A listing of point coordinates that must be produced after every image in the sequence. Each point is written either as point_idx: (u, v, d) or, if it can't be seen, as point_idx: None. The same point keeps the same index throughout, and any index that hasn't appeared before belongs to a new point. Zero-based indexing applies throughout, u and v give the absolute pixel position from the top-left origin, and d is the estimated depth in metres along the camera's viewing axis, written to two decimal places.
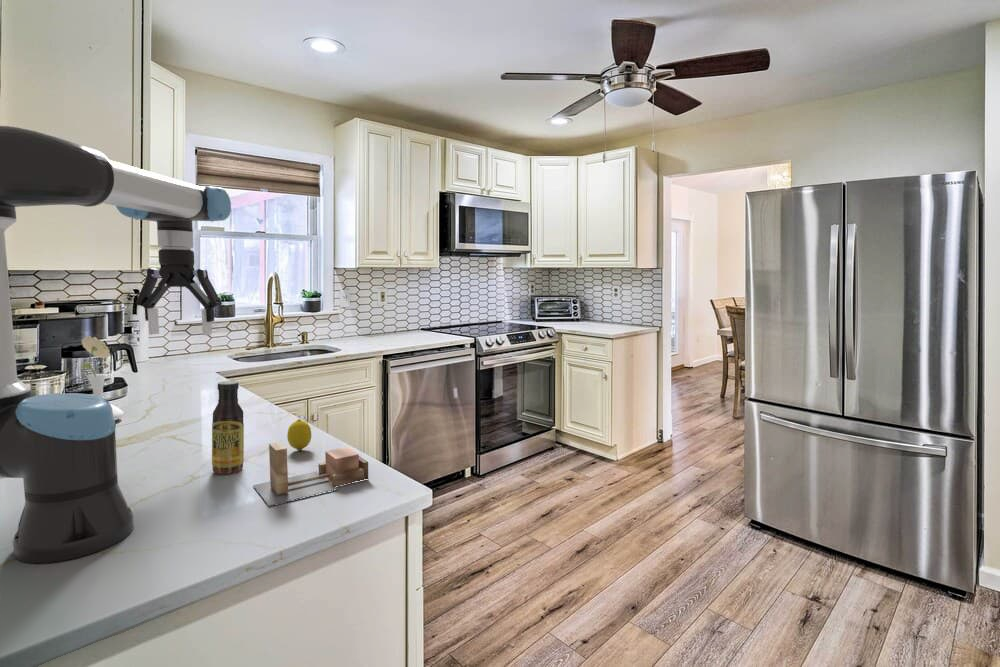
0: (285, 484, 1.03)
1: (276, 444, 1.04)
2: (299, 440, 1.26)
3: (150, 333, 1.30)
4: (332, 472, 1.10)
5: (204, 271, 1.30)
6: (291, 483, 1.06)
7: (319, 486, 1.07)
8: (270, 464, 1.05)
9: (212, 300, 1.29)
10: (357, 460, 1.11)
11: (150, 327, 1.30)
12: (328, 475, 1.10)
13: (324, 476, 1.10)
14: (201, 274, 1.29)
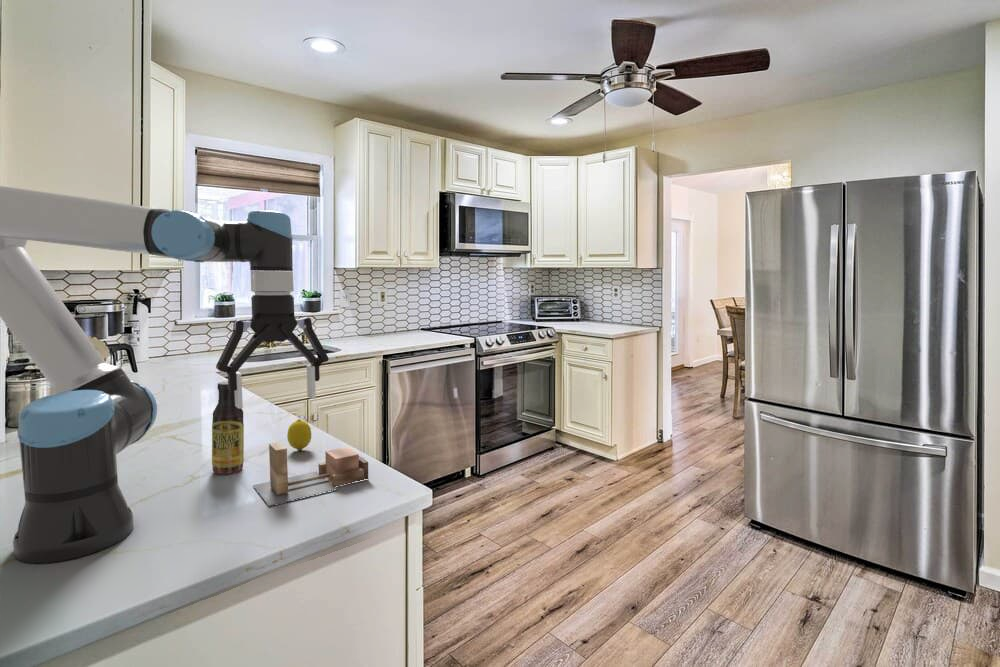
0: (285, 484, 1.03)
1: (276, 444, 1.04)
2: (299, 440, 1.26)
3: (240, 406, 0.97)
4: (332, 472, 1.10)
5: None
6: (291, 483, 1.06)
7: (319, 486, 1.07)
8: (270, 464, 1.05)
9: (323, 355, 1.07)
10: (357, 460, 1.11)
11: (240, 398, 0.97)
12: (328, 475, 1.10)
13: (324, 476, 1.10)
14: (310, 324, 1.04)
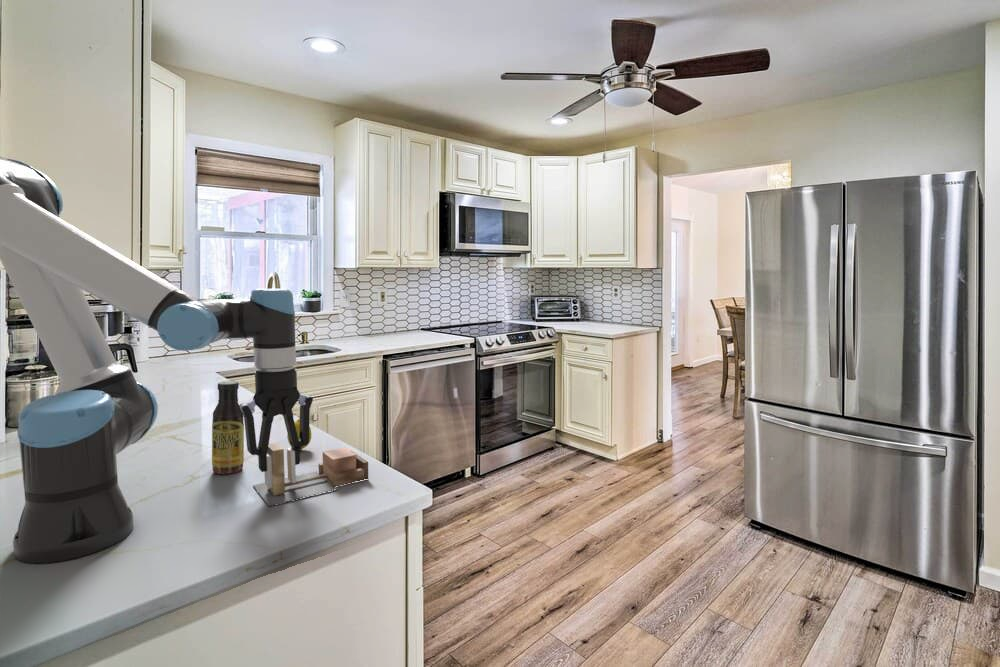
0: (282, 485, 1.02)
1: (273, 445, 1.04)
2: None
3: (270, 486, 1.02)
4: (329, 473, 1.10)
5: None
6: (288, 484, 1.05)
7: (319, 486, 1.07)
8: None
9: (306, 437, 1.06)
10: (354, 461, 1.11)
11: (270, 479, 1.02)
12: (325, 476, 1.10)
13: (321, 477, 1.09)
14: (310, 404, 1.06)
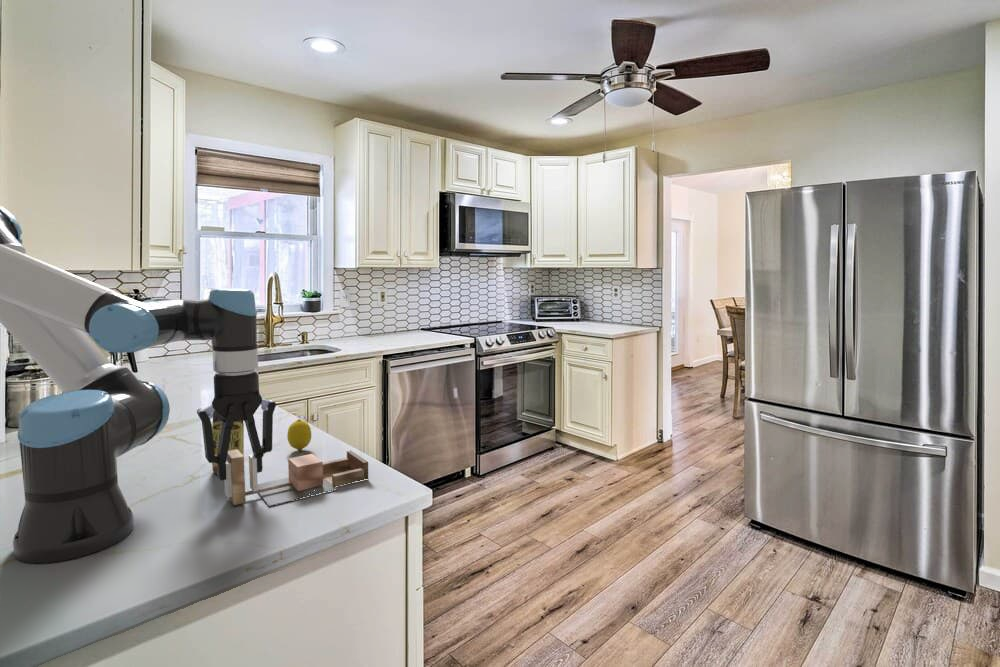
0: (242, 494, 0.98)
1: (233, 452, 1.00)
2: (299, 440, 1.26)
3: (230, 495, 0.98)
4: (294, 480, 1.05)
5: None
6: (250, 492, 1.01)
7: (319, 486, 1.07)
8: None
9: (268, 444, 1.01)
10: (321, 468, 1.06)
11: (230, 488, 0.98)
12: (290, 484, 1.06)
13: (286, 485, 1.05)
14: (273, 409, 1.01)
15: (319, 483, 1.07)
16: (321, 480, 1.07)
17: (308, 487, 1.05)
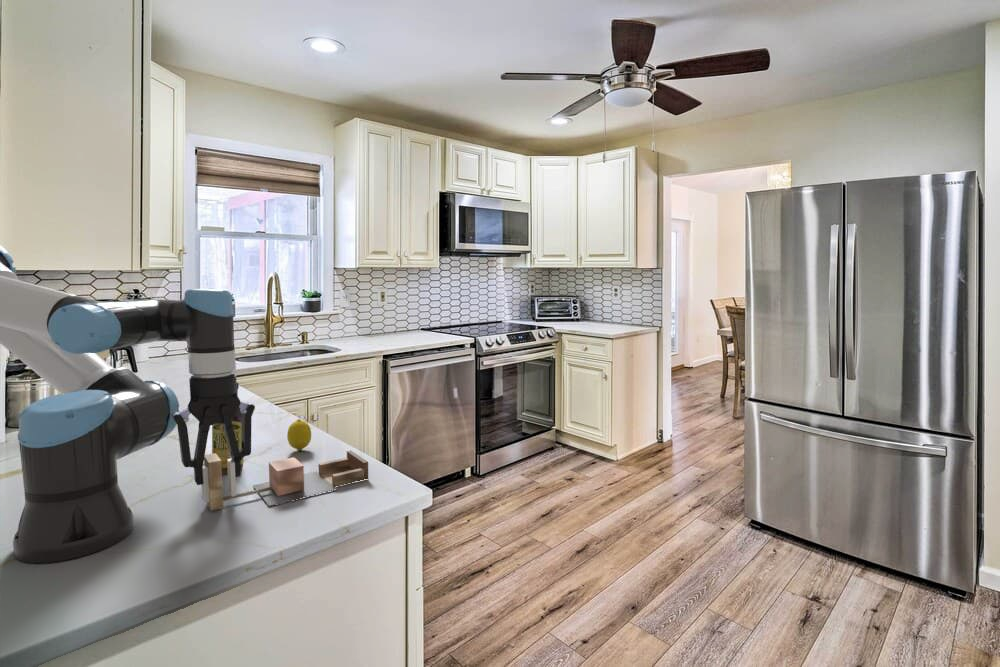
0: (219, 499, 0.96)
1: (211, 456, 0.97)
2: (299, 440, 1.26)
3: (207, 501, 0.95)
4: (274, 485, 1.03)
5: None
6: (228, 497, 0.99)
7: (319, 486, 1.07)
8: None
9: (247, 447, 0.99)
10: (302, 472, 1.04)
11: (207, 492, 0.95)
12: (270, 488, 1.03)
13: (266, 489, 1.03)
14: (252, 412, 0.99)
15: (300, 487, 1.04)
16: (302, 484, 1.04)
17: (288, 492, 1.03)
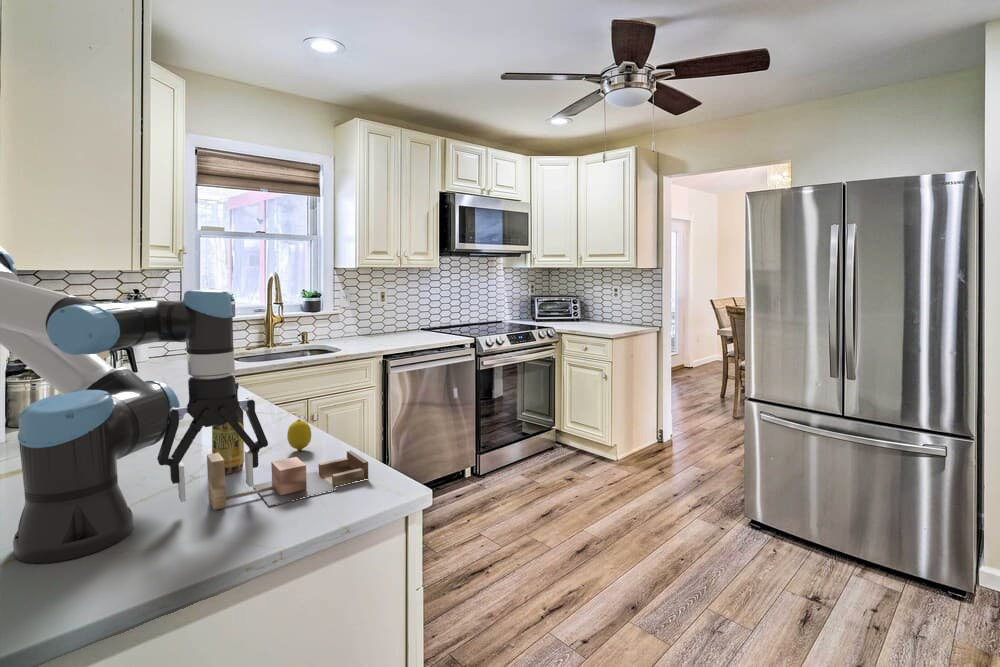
0: (222, 498, 0.96)
1: (214, 456, 0.97)
2: (299, 440, 1.26)
3: (183, 500, 0.93)
4: (277, 484, 1.03)
5: None
6: (231, 497, 0.99)
7: (319, 486, 1.07)
8: (208, 476, 0.98)
9: (263, 439, 1.01)
10: (304, 471, 1.04)
11: (183, 491, 0.93)
12: (273, 487, 1.04)
13: (268, 489, 1.03)
14: (253, 406, 0.99)
15: (302, 487, 1.04)
16: (305, 484, 1.05)
17: (291, 491, 1.03)
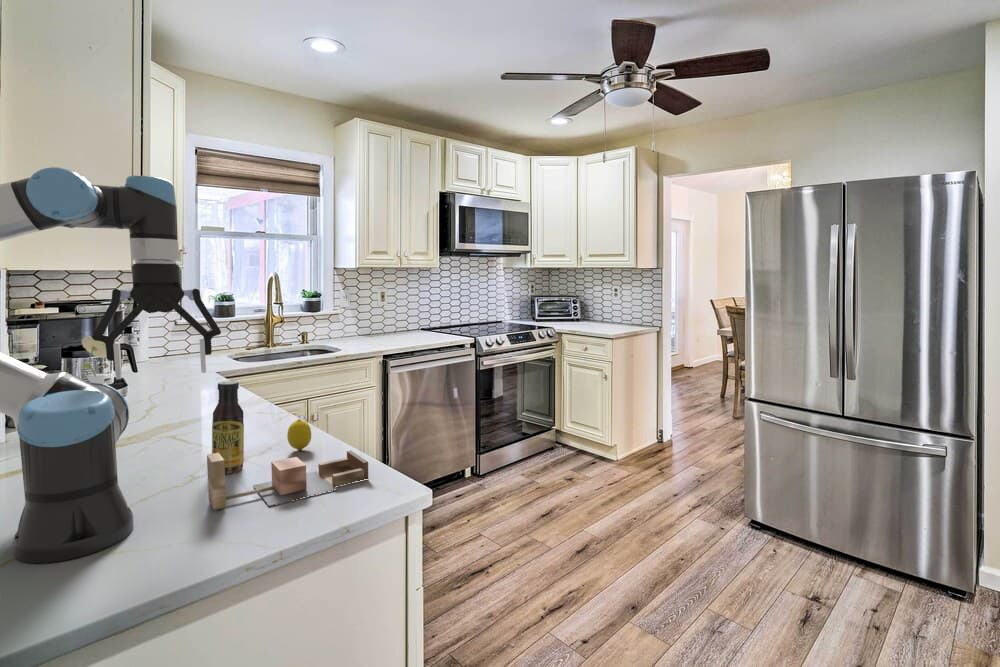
0: (222, 498, 0.96)
1: (214, 456, 0.97)
2: (299, 440, 1.26)
3: (118, 377, 0.95)
4: (277, 484, 1.03)
5: None
6: (231, 497, 0.99)
7: (319, 486, 1.07)
8: (208, 476, 0.98)
9: (214, 328, 1.03)
10: (304, 471, 1.04)
11: (118, 369, 0.95)
12: (273, 487, 1.04)
13: (268, 489, 1.03)
14: (199, 295, 1.01)
15: (302, 487, 1.04)
16: (305, 484, 1.05)
17: (291, 491, 1.03)
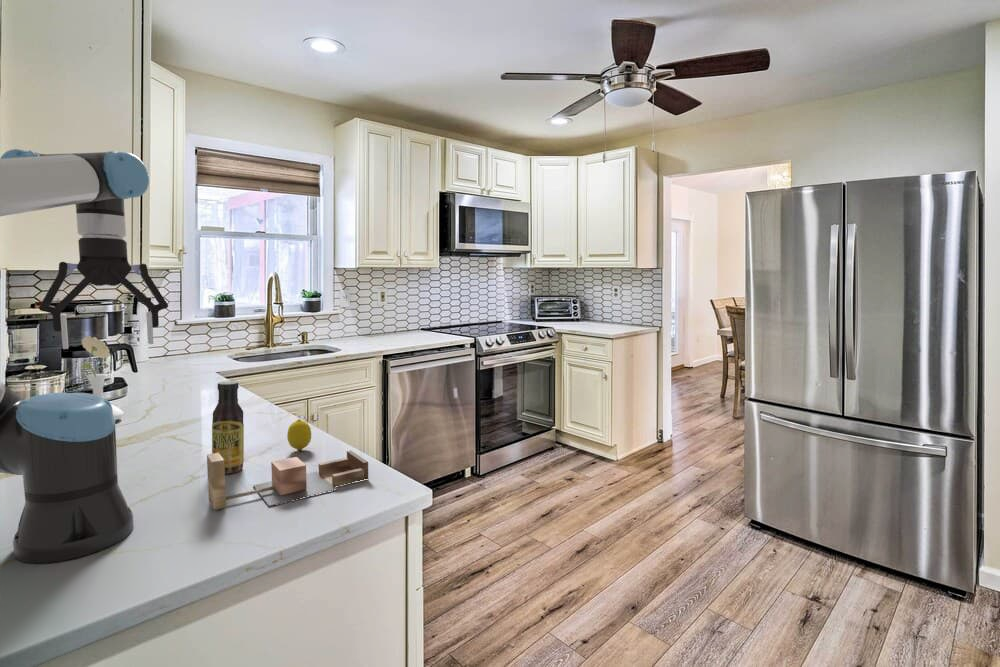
0: (222, 498, 0.96)
1: (214, 456, 0.97)
2: (299, 440, 1.26)
3: (65, 347, 0.99)
4: (277, 484, 1.03)
5: None
6: (231, 497, 0.99)
7: (319, 486, 1.07)
8: (208, 476, 0.98)
9: (162, 301, 1.08)
10: (304, 471, 1.04)
11: (65, 339, 0.99)
12: (273, 487, 1.04)
13: (268, 489, 1.03)
14: (146, 270, 1.06)
15: (302, 487, 1.04)
16: (305, 484, 1.05)
17: (291, 491, 1.03)
